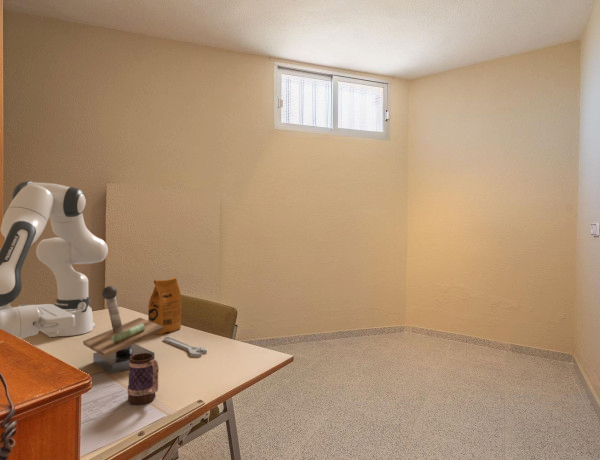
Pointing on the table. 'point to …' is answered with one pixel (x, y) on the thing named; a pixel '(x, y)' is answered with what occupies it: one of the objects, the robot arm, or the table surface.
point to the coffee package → (165, 305)
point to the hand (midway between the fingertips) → (79, 312)
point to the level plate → (108, 343)
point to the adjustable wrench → (187, 347)
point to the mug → (142, 378)
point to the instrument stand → (119, 358)
